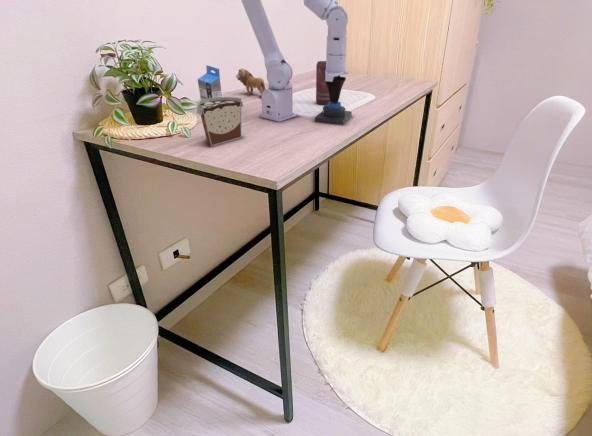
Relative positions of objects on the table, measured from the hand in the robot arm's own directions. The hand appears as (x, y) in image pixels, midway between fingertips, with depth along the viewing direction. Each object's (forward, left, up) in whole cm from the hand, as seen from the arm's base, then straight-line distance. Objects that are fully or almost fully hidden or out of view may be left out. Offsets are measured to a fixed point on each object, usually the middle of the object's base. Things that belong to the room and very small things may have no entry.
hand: (334, 102), depth 114 cm
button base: (0, 0, -5) cm, 5 cm away
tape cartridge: (-16, +39, -5) cm, 42 cm away
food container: (-36, +11, -5) cm, 38 cm away
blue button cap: (0, 0, -2) cm, 2 cm away
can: (+14, +14, -5) cm, 20 cm away
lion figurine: (+5, +41, -5) cm, 42 cm away
